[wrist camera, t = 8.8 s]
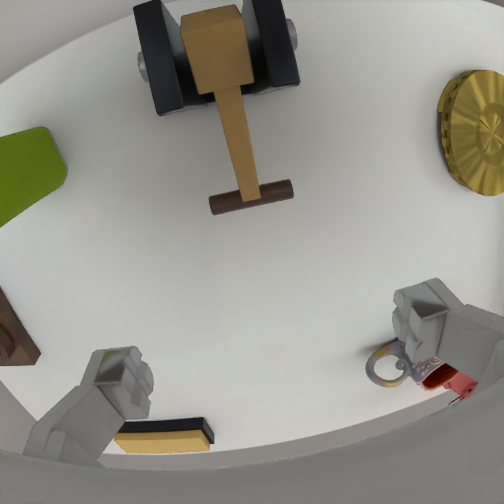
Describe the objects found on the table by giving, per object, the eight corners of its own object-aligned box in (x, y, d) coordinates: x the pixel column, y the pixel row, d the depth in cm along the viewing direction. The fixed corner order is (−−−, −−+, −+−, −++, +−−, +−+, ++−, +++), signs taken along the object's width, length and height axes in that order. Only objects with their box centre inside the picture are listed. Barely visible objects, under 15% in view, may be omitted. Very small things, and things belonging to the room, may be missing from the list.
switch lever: (287, 180, 20) (296, 209, 19) (211, 196, 20) (215, 227, 19) (269, -2, 9) (285, 14, 8) (147, 26, 10) (140, 46, 9)
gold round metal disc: (504, 65, 19) (518, 66, 17) (519, 172, 24) (532, 178, 22) (421, 78, 20) (436, 78, 18) (446, 203, 26) (459, 212, 24)
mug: (450, 309, 32) (479, 344, 26) (434, 351, 35) (457, 386, 29) (362, 325, 31) (385, 370, 25) (352, 368, 34) (369, 411, 28)
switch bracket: (296, 88, 21) (367, 77, 9) (163, 118, 21) (93, 138, 10) (284, 34, 19) (341, -28, 7) (150, 64, 19) (70, 33, 8)
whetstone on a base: (112, 421, 37) (108, 438, 35) (203, 417, 37) (202, 435, 34) (128, 438, 40) (125, 454, 37) (214, 434, 39) (214, 452, 37)
